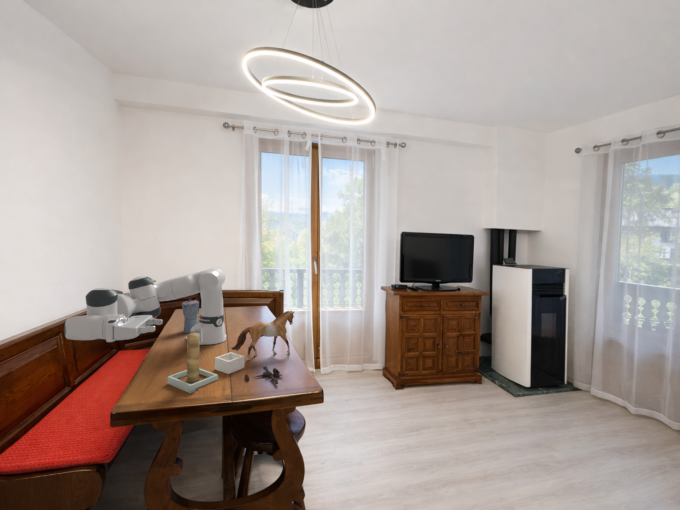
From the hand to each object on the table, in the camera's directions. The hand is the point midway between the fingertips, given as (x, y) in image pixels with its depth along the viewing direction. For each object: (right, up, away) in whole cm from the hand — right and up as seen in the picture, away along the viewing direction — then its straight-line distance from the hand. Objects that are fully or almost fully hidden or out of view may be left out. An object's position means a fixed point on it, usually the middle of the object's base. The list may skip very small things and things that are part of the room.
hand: (158, 325), depth 125 cm
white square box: (+21, -23, +17) cm, 35 cm away
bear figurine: (+37, -24, +10) cm, 45 cm away
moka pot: (-20, -19, +74) cm, 79 cm away
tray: (+11, -23, +5) cm, 26 cm away
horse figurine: (+31, -22, +37) cm, 53 cm away
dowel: (+11, -22, +4) cm, 25 cm away
